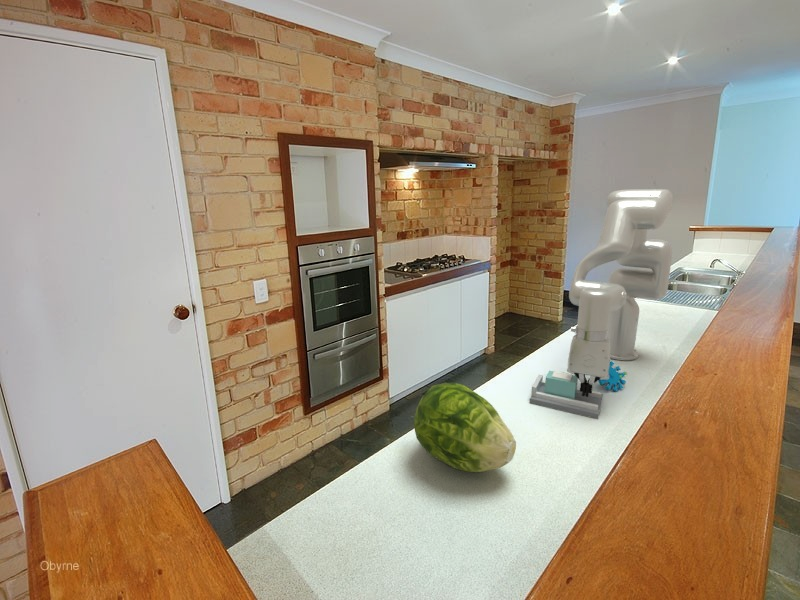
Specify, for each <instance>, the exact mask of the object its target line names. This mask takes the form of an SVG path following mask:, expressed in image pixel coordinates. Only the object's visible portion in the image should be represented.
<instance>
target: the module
mask: <svg viewBox="0 0 800 600" xmlns="http://www.w3.org/2000/svg"><path fill="white" fill-rule="evenodd" d="M578 380H579V379H578V378H577V377H576V376H575V375H574V374H571V373H568V372H567V373H565V372H560V371H556V370H554V371H553V370H548V372H547V374H546V376H545V380H544V381H545V393H546V394H551V395H555V396H560V397H565V398H569V399H574V400H575V397H576V393H577V388H578Z"/></svg>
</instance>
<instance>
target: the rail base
mask: <svg viewBox="0 0 800 600" xmlns="http://www.w3.org/2000/svg"><path fill="white" fill-rule="evenodd" d="M543 379H544V378H543V374H537V377H536V379H535V380H534V382H533V383H532V385H531V394H530V398H529V404H533V405H537V406H541V407H545V408H550V409H554V410H558V411H563V412H566V413H571V414H574V415H580V416H583V417H588V418H592V419H594V420H595V419H596V420H599V416H600V412H601V408H602V403H603V397H604V394H603V393H602V392H600V391H595V390H592V393H589V395H588V397H586V396H582V392H581V391H580V387H577V393H576V397H575V400H574V399H569V398H565V397H560V396H555V395H551V394H546V393H545V381H546V380H543ZM585 394H586V393H585Z"/></svg>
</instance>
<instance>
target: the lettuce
mask: <svg viewBox="0 0 800 600" xmlns="http://www.w3.org/2000/svg"><path fill="white" fill-rule="evenodd" d="M413 420H414V421H413V428H414V434H415V437H416V440H417V441H418V442H419V444H420V445H421V447H422V448H423V449H424V450H425V451H426V452H427V454H430V455H431V456H432V457H434V458H435V459H437V460H439V461H441V462H442V463H445V464H446V465H448V466H449V467H451V468H454V469H456V470H459V471H464V472H470V473H483V472H487V471H491V470H497V469H501V468H503V467H504V466H506V465H508V464H509V463H510V462H512V460H513V458H514V456H515V453H516V449H517V442H516V440H515V438H514V435H513V434H512V432H511V430H510V429H509V427H508V426H507V425H506V424H505V422H504V421H503V419H502V417H501V416H500V414H499V412H498V411H497V409H495V407H494V406H493V405H492V404H491V403H490V402H489V401H488V400H487V399H485V398H484V397H483V396H481V395H479V394H478V393H477V392H475V391H474V390H472V389H471V388H469V387H468V386H466V385H463V384H461V383H456V382H443V383H438V384H435V385H431V387H430V388H429V389H428V390H427V391H426V392H425V394H424V395H422V397H421V399H420V401H419V403H418V405H417V407H416V410H415V413H414V418H413Z"/></svg>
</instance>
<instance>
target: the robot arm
mask: <svg viewBox="0 0 800 600" xmlns="http://www.w3.org/2000/svg"><path fill="white" fill-rule="evenodd" d="M673 199H674V198H673V193H672V192H671V190H669V189H667V188H666V189H665V188H656V189H655V188H649V189H648V188H644V189H642V188H641V189H640V188H639V189H621V190H620V189H619V190H613V191H612V192H611V193H609V194H608V196H607V199H606V200H607V201H606V204H607V210H606V214H605V217H604V221H603V225H602V230H601V232H600V233H601V234H600V237H599V241H598V246H597V247H596V248H594V249H593V250H591V251H590V252H589V253H588V254H586V255H585V256H584V257H583V258H582V259H581V260H580V262H579V263H578V264H577V265H576V267H575V270H574V272H573V274H572V278H571V282H570V285H569V287H570V288H569V291H568V298H569V301H570V302H571V304H573V305H574V306H578V312H577V313H578V314H577V315H578V316H577V324H576V326H571V328H570V332H572V333H574V335H573V336H572V339H571V342H570V347H569V353H568V359H567V361H568V362H567V368H566V372H567V373H568V374H572V375H575V376H576V377H577V378H578V380H579V382H580V383H579V384H580V386H579V388H580V391H581V392H582V396H586V397H588V395H589V393H592V391H593V387H594V386H593V385H594V384H595V383H596V382H599V381H598V380H600V379H601V380H608V379H609V365H610V362H611V359H612V360H616V361H617V360H618V361H634V360H636V359H638V358H639V355H640V353H639V352H638V351H637V350H636V349H635V348H636V347H635V346H636V341H637V333H638V326H639V318H640V306H639V304H638V303H637V301H636V299H635V298H638V299H639V298H640V299H645V300H662V299H664V298H665V297H666V295H667V293H668V290H669V289H668V288H669V284H670V283H669V282H670V274H671V267H672V266H671V265H672V258H673V257H672V254H673V247H672V244H671V243H670V242H669V241H667V240H664V239H656V238H651V239H650V238H648V237H647V233H648V231H649V230H650V231H652V230H653V231H654V230H659V229H660V228H661V227H662V226H663V225H664V223H665V221H666V219H667V218H668V216H669V215H670V213H671V210H672V207H673V202H674V200H673ZM614 261H616V262H617V264H618V265H619V266H622V267H630V268H618V269H615V270H613V271H612V272H611V273H610V275H609V278H608V282H604V281H594V280H585V279H586V277H587V276H588V274H589V273H590V272H591V271H592V270H593V269H595V268H597V267H598V266H601V265H604V264H607V263H610V262H614ZM636 268H637V269H636ZM638 268H641V269H638ZM644 268H645V269H644ZM647 269H651V270H647ZM586 376H589V378H588V379H587V378H586ZM585 393H586V394H585Z"/></svg>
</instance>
